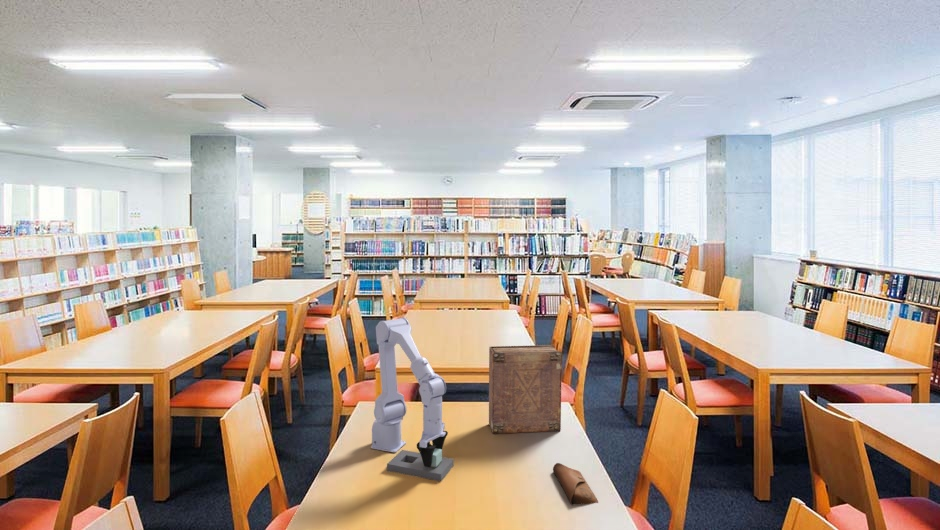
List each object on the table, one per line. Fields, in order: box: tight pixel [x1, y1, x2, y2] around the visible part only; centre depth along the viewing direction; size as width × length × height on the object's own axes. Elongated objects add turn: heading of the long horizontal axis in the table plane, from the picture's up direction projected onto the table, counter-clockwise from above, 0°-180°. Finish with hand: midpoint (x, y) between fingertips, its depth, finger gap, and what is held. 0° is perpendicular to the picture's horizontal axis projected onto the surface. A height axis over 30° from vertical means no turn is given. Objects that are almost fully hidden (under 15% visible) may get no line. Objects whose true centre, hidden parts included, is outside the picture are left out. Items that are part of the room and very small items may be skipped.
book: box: [488, 344, 563, 435], centre depth 181 cm, size 25×9×30 cm, turn 97°
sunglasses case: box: [552, 462, 599, 506], centre depth 141 cm, size 18×7×7 cm
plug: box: [423, 448, 443, 468], centre depth 150 cm, size 4×4×6 cm
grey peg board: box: [386, 449, 455, 482], centre depth 151 cm, size 18×10×2 cm, turn 71°
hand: (432, 460), depth 150 cm, fingers open, 7 cm apart
